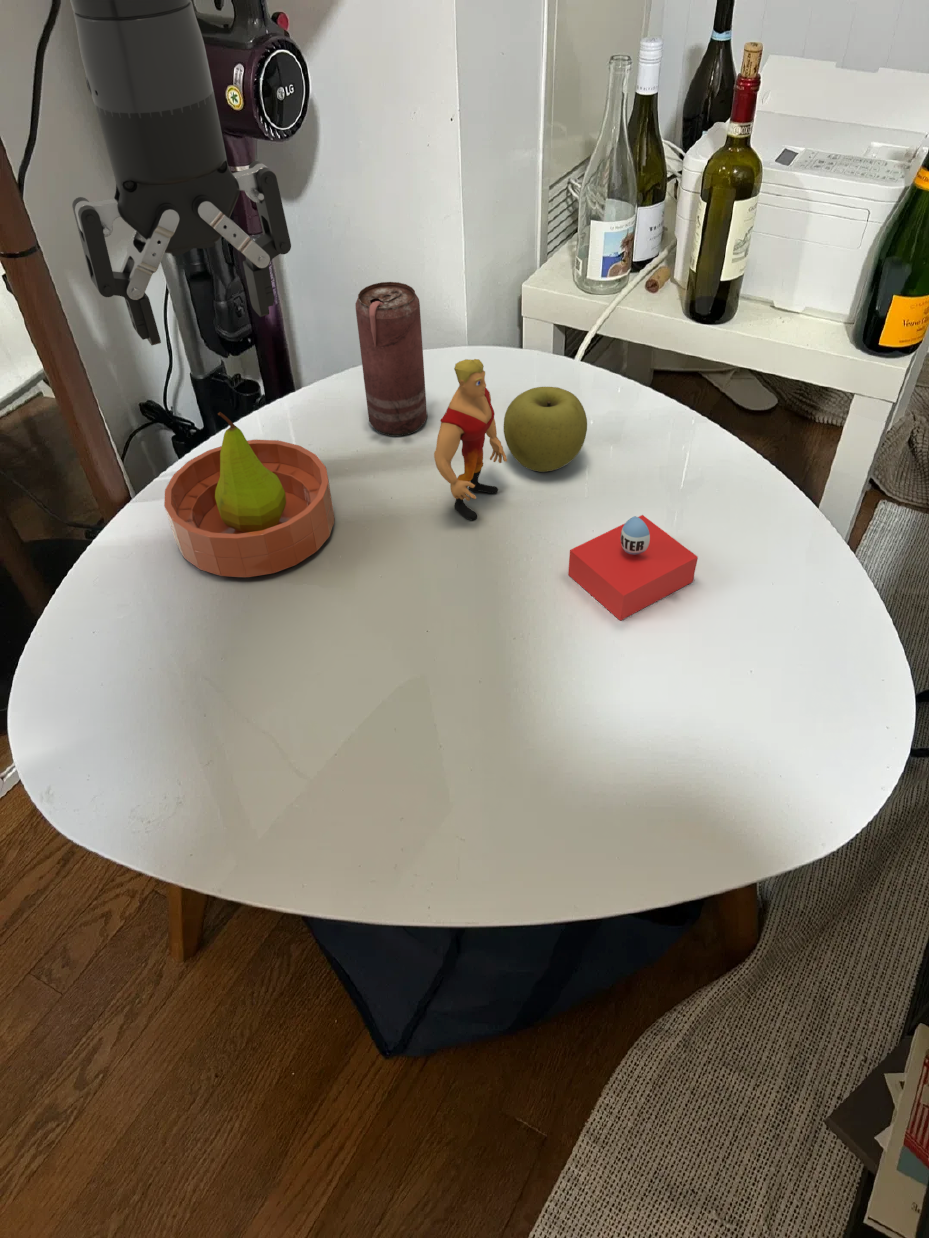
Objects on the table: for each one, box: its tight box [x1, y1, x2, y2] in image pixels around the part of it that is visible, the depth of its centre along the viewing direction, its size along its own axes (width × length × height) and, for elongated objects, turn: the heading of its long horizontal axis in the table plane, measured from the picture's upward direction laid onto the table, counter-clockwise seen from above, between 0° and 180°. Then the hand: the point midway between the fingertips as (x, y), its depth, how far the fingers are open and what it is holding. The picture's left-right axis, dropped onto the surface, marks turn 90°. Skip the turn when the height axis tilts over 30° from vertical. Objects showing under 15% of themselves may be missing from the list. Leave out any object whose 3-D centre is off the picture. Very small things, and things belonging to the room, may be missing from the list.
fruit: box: [215, 411, 286, 532], centre depth 80 cm, size 6×6×12 cm
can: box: [354, 281, 428, 437], centre depth 91 cm, size 6×6×14 cm
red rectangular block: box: [567, 514, 699, 621], centre depth 76 cm, size 8×7×6 cm
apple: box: [503, 386, 588, 473], centre depth 88 cm, size 8×8×7 cm
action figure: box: [433, 358, 508, 521], centre depth 81 cm, size 10×4×15 cm, turn 152°
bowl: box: [163, 439, 336, 578], centre depth 83 cm, size 14×14×5 cm
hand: (208, 326), depth 70 cm, fingers open, 8 cm apart
